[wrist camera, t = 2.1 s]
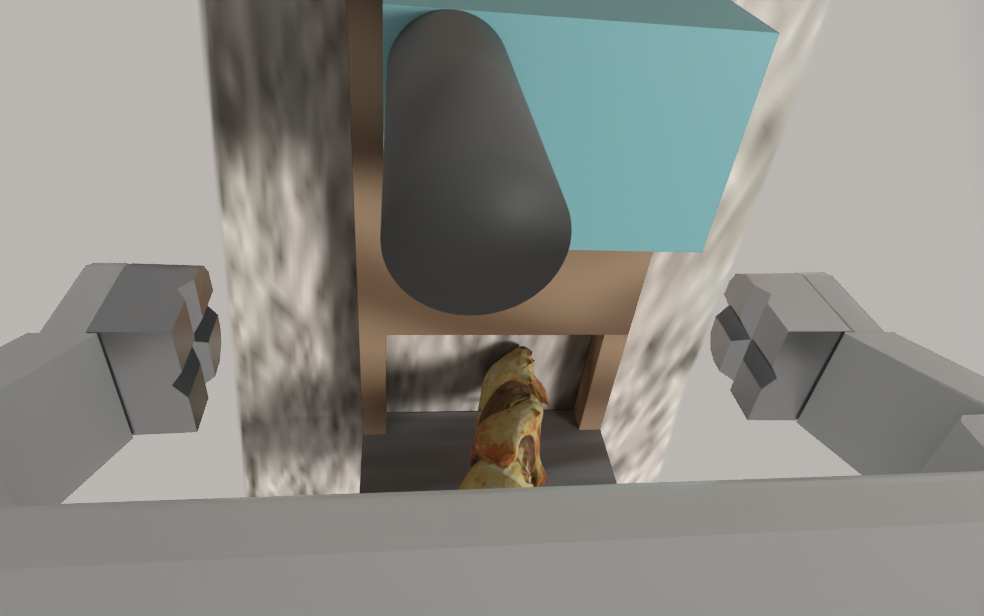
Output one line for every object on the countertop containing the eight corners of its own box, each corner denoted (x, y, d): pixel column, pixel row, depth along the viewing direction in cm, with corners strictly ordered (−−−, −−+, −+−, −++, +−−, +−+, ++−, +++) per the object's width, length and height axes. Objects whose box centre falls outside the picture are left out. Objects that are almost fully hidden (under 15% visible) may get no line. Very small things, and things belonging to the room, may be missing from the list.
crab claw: (415, 402, 36) (425, 876, 20) (428, 331, 33) (451, 827, 17) (537, 409, 37) (634, 858, 22) (561, 342, 34) (692, 809, 19)
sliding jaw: (386, -48, 21) (372, 148, 10) (699, -21, 22) (988, 173, 11) (387, 158, 25) (378, 452, 14) (648, 169, 26) (822, 441, 16)
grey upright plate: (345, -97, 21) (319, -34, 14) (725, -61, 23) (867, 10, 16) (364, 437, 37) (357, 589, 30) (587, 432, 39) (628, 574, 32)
